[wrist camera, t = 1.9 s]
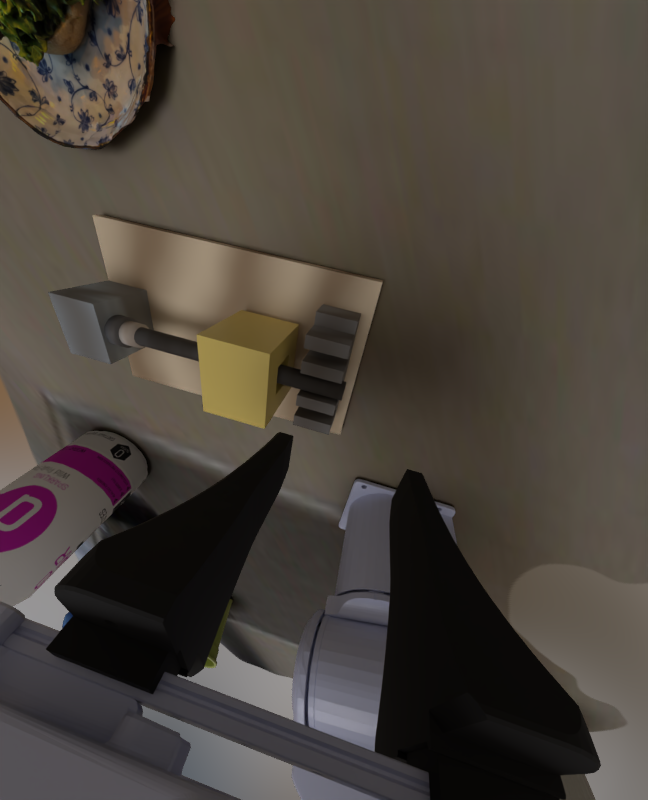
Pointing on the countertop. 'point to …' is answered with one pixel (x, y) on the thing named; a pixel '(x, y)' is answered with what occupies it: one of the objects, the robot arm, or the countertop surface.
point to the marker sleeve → (245, 366)
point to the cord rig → (219, 313)
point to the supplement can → (62, 507)
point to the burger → (79, 64)
